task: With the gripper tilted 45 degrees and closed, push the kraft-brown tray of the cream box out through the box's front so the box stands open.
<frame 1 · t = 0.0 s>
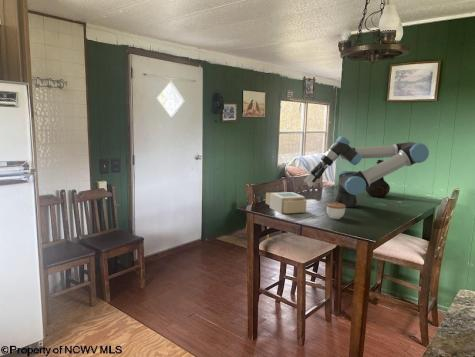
hand: (307, 184, 230), 15 cm above the table, tool tilted 35°, fingers open, 13 cm apart
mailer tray: (285, 202, 225), point 4 cm above the table, slide at 0.0 cm
glass bottle: (376, 196, 279), on the table
lidded jar: (335, 217, 211), on the table
cream box: (286, 209, 224), on the table
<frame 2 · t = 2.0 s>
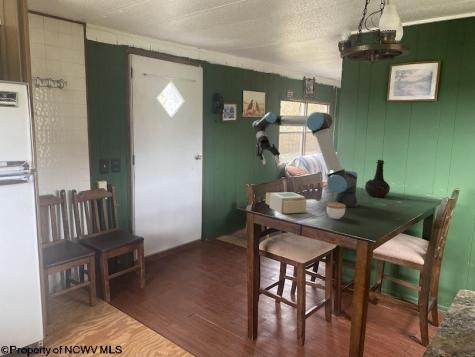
hand: (271, 163, 249), 25 cm above the table, tool tilted 45°, fingers open, 10 cm apart
nothing on the table moved.
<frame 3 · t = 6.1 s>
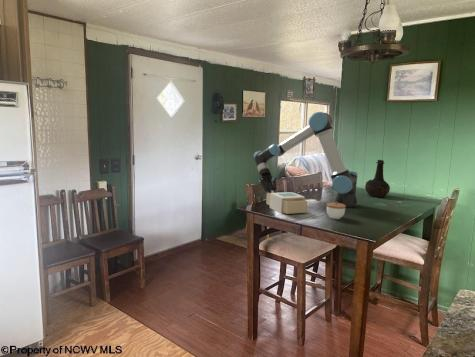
hand: (274, 199, 238), 3 cm above the table, tool tilted 45°, fingers closed
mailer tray: (285, 202, 224), point 4 cm above the table, slide at 1.0 cm, touching gripper
everything else where it was.
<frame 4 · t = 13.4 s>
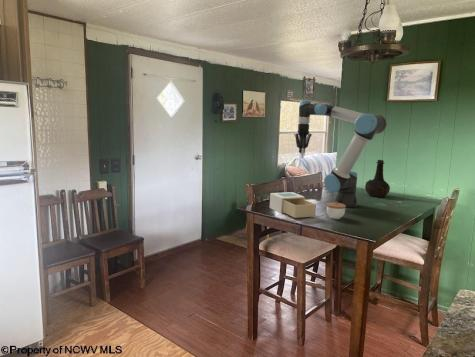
hand: (301, 157, 253), 29 cm above the table, tool pointing down, fingers closed
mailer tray: (293, 205, 217), point 4 cm above the table, slide at 9.7 cm
everything else where it was.
at the end: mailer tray slide at 9.7 cm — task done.
